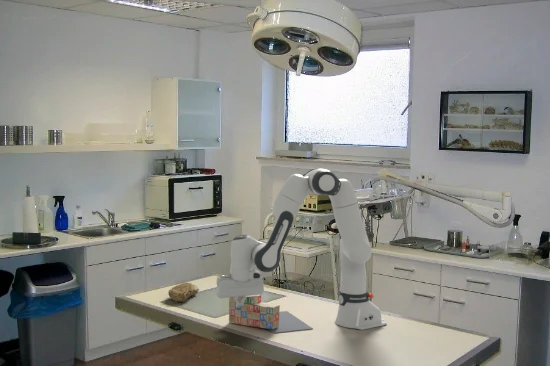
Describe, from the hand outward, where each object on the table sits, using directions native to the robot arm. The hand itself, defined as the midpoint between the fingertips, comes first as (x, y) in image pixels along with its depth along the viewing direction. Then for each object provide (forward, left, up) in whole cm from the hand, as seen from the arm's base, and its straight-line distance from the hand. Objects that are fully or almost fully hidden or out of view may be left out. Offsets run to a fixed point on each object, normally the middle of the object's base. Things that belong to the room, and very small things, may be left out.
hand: (239, 306), depth 261 cm
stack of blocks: (-7, 0, -9) cm, 11 cm away
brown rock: (+11, -49, -9) cm, 51 cm away
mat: (-20, -1, -9) cm, 22 cm away
